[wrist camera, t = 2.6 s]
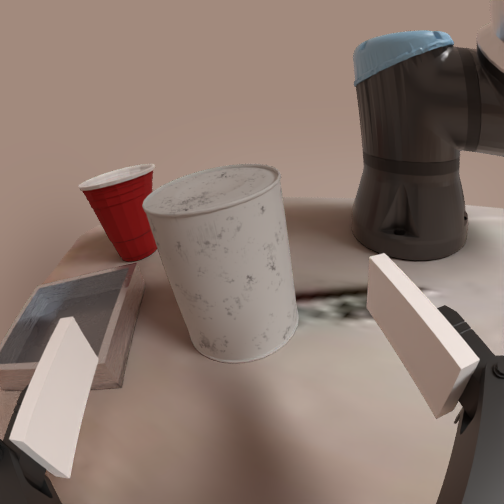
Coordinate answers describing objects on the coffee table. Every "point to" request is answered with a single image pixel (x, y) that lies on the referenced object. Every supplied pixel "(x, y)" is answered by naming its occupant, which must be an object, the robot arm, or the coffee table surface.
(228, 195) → the speckled white cylinder
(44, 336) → the grey square tray
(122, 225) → the plastic cup
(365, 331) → the coffee table surface
